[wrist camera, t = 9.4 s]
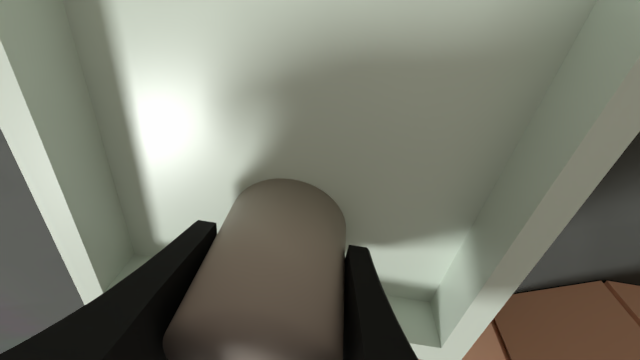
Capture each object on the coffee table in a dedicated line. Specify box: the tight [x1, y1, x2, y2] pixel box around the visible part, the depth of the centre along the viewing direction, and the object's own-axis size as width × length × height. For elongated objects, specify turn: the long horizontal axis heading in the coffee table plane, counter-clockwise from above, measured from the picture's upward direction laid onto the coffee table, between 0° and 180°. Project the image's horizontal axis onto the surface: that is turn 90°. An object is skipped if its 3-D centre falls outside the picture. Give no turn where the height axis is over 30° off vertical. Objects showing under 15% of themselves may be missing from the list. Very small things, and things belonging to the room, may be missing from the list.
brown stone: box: [162, 178, 346, 360], centre depth 10 cm, size 4×4×5 cm
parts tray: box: [0, 0, 640, 360], centre depth 9 cm, size 16×15×3 cm
